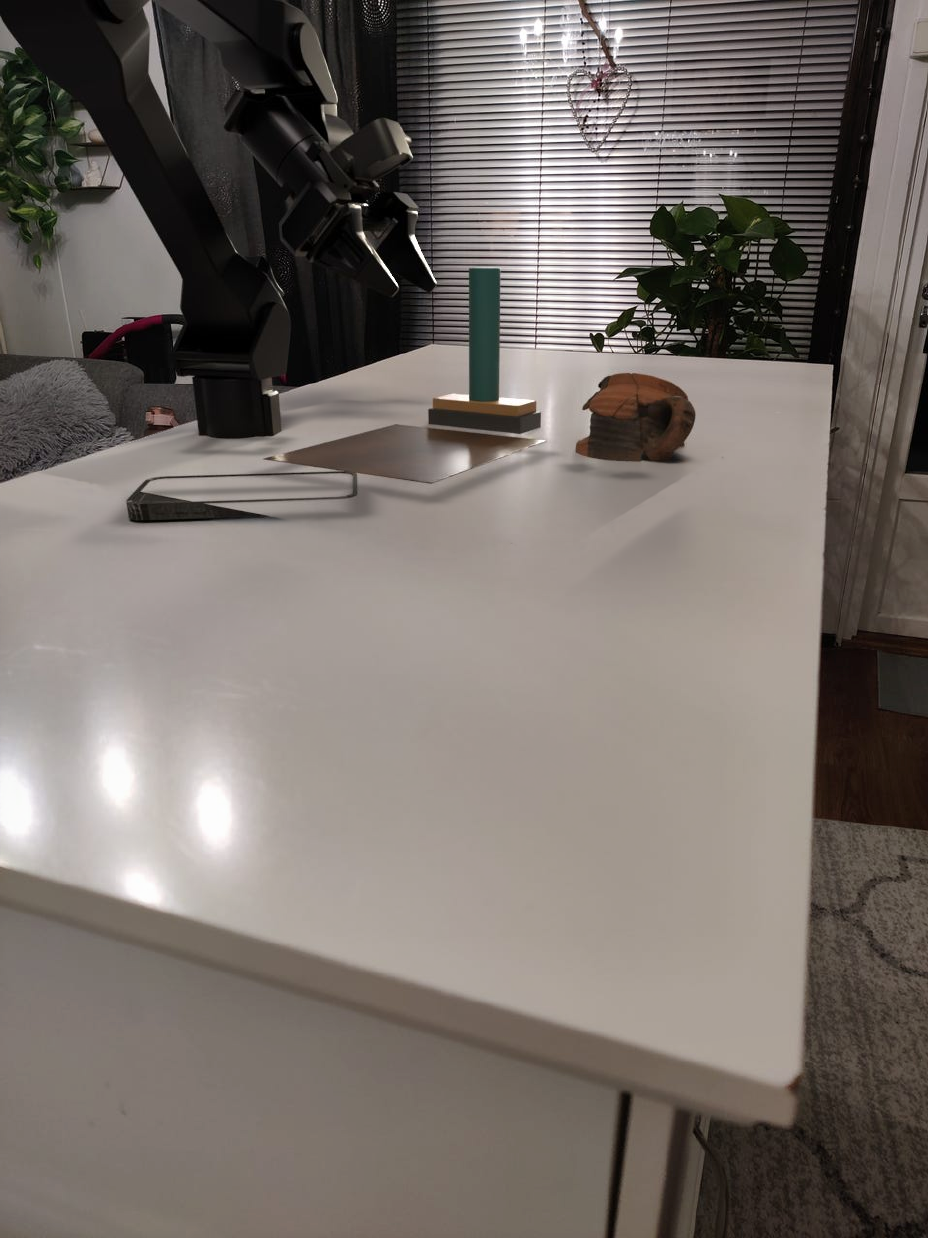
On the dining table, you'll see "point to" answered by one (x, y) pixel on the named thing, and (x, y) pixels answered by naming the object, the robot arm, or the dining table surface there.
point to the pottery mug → (636, 419)
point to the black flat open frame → (202, 502)
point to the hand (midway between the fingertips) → (415, 290)
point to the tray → (408, 452)
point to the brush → (484, 370)
